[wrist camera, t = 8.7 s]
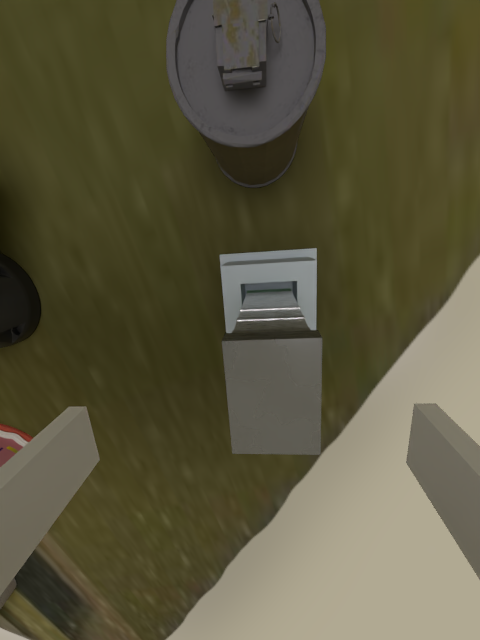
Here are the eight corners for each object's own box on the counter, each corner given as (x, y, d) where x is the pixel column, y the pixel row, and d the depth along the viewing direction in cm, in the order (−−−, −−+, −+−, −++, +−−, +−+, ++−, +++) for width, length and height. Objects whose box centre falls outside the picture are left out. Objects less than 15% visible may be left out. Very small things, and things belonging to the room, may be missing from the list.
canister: (296, 185, 35) (332, 125, 16) (216, 190, 36) (160, 139, 17) (298, 83, 32) (343, -139, 13) (209, 91, 33) (134, -102, 14)
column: (250, 338, 34) (231, 453, 16) (246, 282, 32) (221, 341, 14) (291, 336, 34) (321, 454, 16) (290, 279, 32) (323, 337, 14)
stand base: (228, 341, 42) (218, 366, 34) (220, 254, 39) (208, 259, 31) (315, 338, 41) (327, 364, 33) (315, 248, 37) (329, 251, 29)
